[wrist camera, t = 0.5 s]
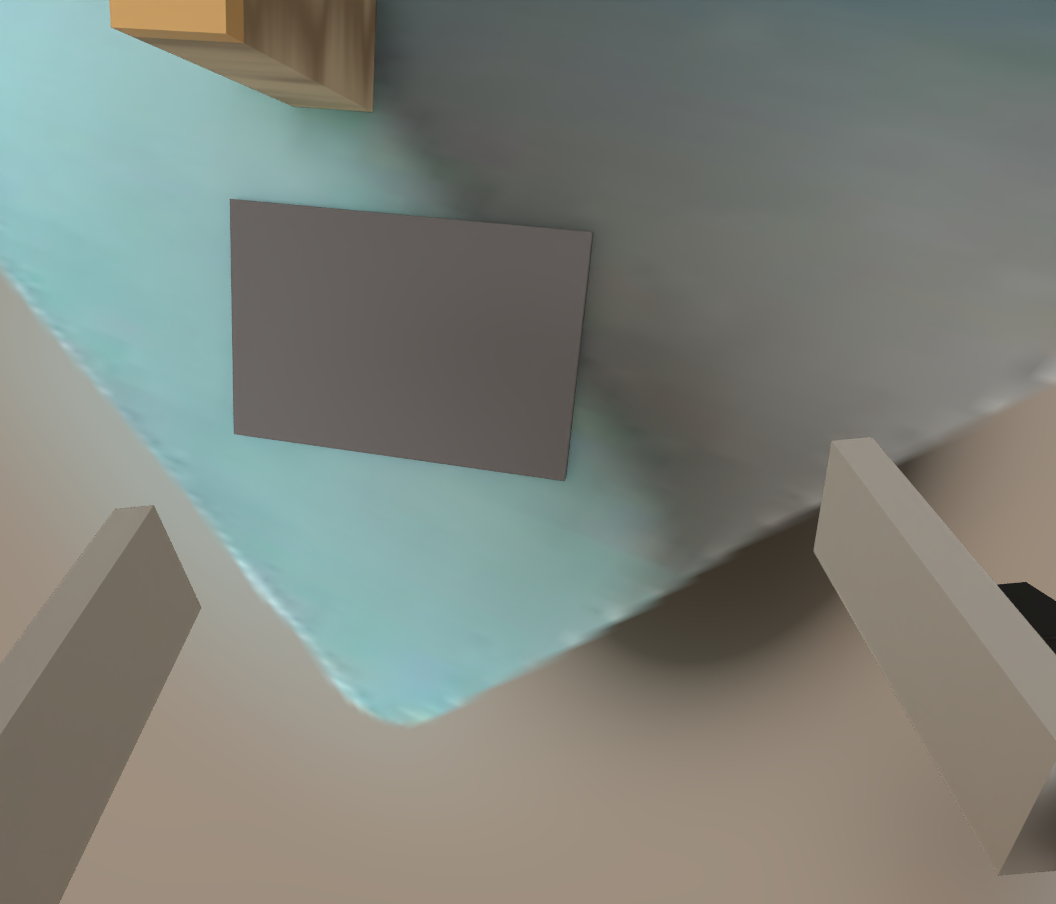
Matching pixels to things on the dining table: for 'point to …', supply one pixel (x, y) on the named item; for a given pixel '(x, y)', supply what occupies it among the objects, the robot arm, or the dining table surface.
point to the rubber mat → (407, 335)
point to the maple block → (268, 44)
